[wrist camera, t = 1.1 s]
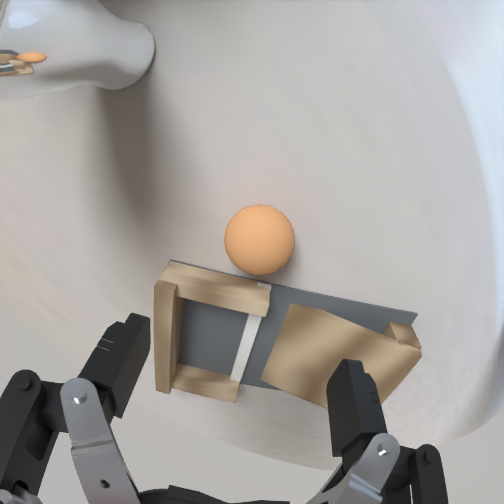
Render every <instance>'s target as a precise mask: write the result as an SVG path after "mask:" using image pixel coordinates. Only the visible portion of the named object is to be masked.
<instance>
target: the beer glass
mask: <svg viewBox="0 0 504 504" xmlns="http://www.w3.org/2000/svg"><path fill="white" fill-rule="evenodd" d="M154 51H155V43H154V38H153V36H152V34H151V32H150V31H149V30H148V28H146V27H145V26H144V25H142V24H140V23H137V22H133V21H125V20H120V19H118V18H116V17H115V16H114V15H112V14H111V13H110V12H109V11H108V10H107V9H106V8H105V7H104V6H103V5H102V4H100V3H99V2H98V1H97V0H0V103H7V102H15V101H20V100H26V99H32V98H36V97H40V96H44V95H48V94H52V93H55V92H59V91H62V90H66V89H69V88H72V87H76V86H80V85H85V84H93V85H96V86H98V87H101V88H104V89H107V90H119V89H123V88H126V87H128V86H130V85H132V84H134V83H135V82H136V81H138V80H139V79H140V78H141V77H142V76H143V75H144V74H145V72H146V71H147V69H148V68H149V66H150V64H151V62H152V59H153V56H154Z"/></svg>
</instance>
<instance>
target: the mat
mask: <svg viewBox="0 0 504 504" xmlns="http://www.w3.org/2000/svg"><path fill="white" fill-rule="evenodd" d="M170 261H173V262H177V263H181V264H185V265H189V266H193V267H197V268H201V269H205V270H209V271H214V272H218V273H222V274H226V275H231V276H235V277H239V278H244V279H248V280H252V281H257V282H258V284H257V286H261V287H266V288H270V299H269V308H268V311H267V314H266V317H264V316H259V315H254V314H250V313H245V312H241V311H236V310H232V309H227V308H223V307H219V306H215V305H210V304H206V303H202V302H198V301H194V300H190V299H186V298H184V300H183V310H182V321H181V333H180V346H179V360H178V363H181V364H184V365H188V366H192V367H196V368H200V369H204V370H208V371H213V372H217V373H221V374H226V375H231V376H230V379H231V380H236V381H239V383H241V384H247V385H252V386H258V387H263V388H270V389H276V390H281V389H279V388H277V387H275V386H272V385H270V384H268V383H266V382H264V381H262V380H260V378H261V375H262V373H263V371H264V368H265V366H266V364H267V361H268V359H269V356H270V354H271V351H272V349H273V347H274V344H275V342H276V339H277V337H278V334H279V332H280V329H281V327H282V324H283V322H284V319H285V316H286V314H287V311H288V309H289V306H290V303H293V304H297V305H302V306H307V307H312V308H317V309H321V310H324V311H326V312H328V313H331V314H333V315H336V316H338V317H340V318H343V319H345V320H348V321H350V322H352V323H355V324H357V325H360V326H362V327H365V328H367V329H370V330H372V331H374V332H377V333H379V334H382V332H383V331H384V329H385V328H386V326H387V324H388V323H389V322H395V323H401V324H407V325H411V324H412V323H413V321H414V320H415V318H416V317H417V315H418V314H417V313H414V312H408V311H403V310H397V309H392V308H387V307H382V306H377V305H371V304H366V303H361V302H356V301H351V300H346V299H342V298H337V297H332V296H327V295H322V294H318V293H313V292H308V291H303V290H299V289H294V288H290V287H285V286H280V285H276V284H271V283H267V282H262V281H258V280H254V279H249V278H245V277H241V276H236V275H232V274H228V273H223V272H219V271H215V270H211V269H207V268H202V267H198V266H194V265H190V264H186V263H182V262H178V261H174V260H170ZM259 282H260V283H259ZM265 283H266V284H265ZM283 391H284V390H283Z"/></svg>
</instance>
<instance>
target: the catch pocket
mask: <svg viewBox="0 0 504 504" xmlns="http://www.w3.org/2000/svg"><path fill="white" fill-rule="evenodd" d="M259 283H260V282H259ZM257 284H258V282H257V281H252V280H248V279H244V278H239V277H235V276H231V275H226V274H222V273H218V272H214V271H209V270H205V269H201V268H197V267H193V266H189V265H185V264H181V263H177V262H173V261H170V262H169V264H168V265H167V267H166V268H165V270H164V271H163V273H162V275H161V276H160V278H159V280H158V281H157V283H156V284H155V286H154V361H155V383H156V391H159V392H162V393H166V394H170V391H171V388H174V389H178V390H182V391H185V392H189V393H193V394H197V395H201V396H206V397H210V398H215V399H219V400H224V401H229V402H234V403H235V402H236V399H237V394H238V387H239V381H236V380H231V379H230V376H231V375H226V374H221V373H217V372H213V371H208V370H204V369H200V368H196V367H192V366H188V365H184V364H181V363H178V360H179V346H180V333H181V321H182V310H183V300H184V298H186V299H190V300H194V301H198V302H202V303H206V304H210V305H215V306H219V307H223V308H227V309H232V310H236V311H241V312H245V313H250V314H254V315H259V316H264V317H266V314H267V311H268V308H269V299H270V288H266V287H261V286H257ZM265 284H266V283H265Z"/></svg>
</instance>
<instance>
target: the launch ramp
mask: <svg viewBox="0 0 504 504" xmlns="http://www.w3.org/2000/svg"><path fill="white" fill-rule="evenodd" d="M420 349H421V345H420V343H419V341H418V338H417V336H416V334H415V332H414V330H413V328H412V326H411V325H407V324H401V323H395V322H389V323H388V324H387V326H386V328H385V329H384V331H383V332H382V334H379V333H377V332H374V331H372V330H370V329H367V328H365V327H362V326H360V325H357V324H355V323H352V322H350V321H348V320H345V319H343V318H340V317H338V316H336V315H333V314H331V313H328V312H326V311H324V310H321V309H317V308H312V307H307V306H302V305H297V304H293V303H290V306H289V309H288V311H287V314H286V316H285V319H284V322H283V324H282V327H281V329H280V332H279V334H278V337H277V339H276V342H275V344H274V347H273V349H272V351H271V354H270V356H269V359H268V361H267V364H266V366H265V368H264V371H263V373H262V375H261V378H260V380H262V381H264V382H266V383H268V384H270V385H272V386H275V387H277V388H279V389H281V390H284V391H286V392H288V393H291V394H293V395H295V396H298V397H300V398H302V399H305V400H307V401H310V402H312V403H315V404H317V405H320V406H322V407H325V408H327V409H328V403H327V395H326V388H327V383H328V381H329V379H330V377H331V376H332V374H333V373H334V371H335V370H336V368H337V367H338V365H339V364H340V362H341V361H342V360H343V359H352V360H360V361H361V362H362V364H363V367H364V371H365V373H369V374H370V375H371V377H372V378H373V380H374V381H375V383H376V387H377V391H378V395H379V399H380V403H381V404H382V403H383V402H384V401H385V400H386V399H387V397H388V396H389V395H390V394H391V393H392V392H393V391H394V390H395V389H396V387H397V386H398V385H399V384H400V383H401V382H402V380H403V379H404V378H405V377H406V376H407V375H408V373H409V372H410V371H411V370H412V368H413V367H414V366H415V365H416V363H417V362H418V361H419V360H420V358H421V357H422V354H421V350H420Z"/></svg>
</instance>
